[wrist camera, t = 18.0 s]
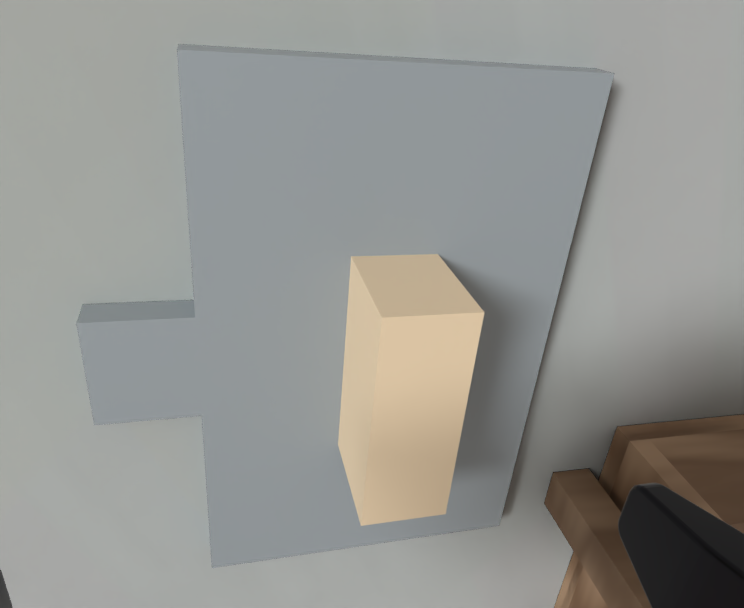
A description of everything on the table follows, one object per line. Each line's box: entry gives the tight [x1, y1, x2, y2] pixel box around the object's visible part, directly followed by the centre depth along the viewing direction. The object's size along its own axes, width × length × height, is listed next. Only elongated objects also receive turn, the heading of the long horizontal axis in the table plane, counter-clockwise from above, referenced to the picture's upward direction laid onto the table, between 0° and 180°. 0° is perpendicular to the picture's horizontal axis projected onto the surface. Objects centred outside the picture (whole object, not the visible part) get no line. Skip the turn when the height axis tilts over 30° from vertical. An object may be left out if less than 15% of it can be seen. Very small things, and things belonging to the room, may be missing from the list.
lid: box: [76, 44, 614, 568], centre depth 20 cm, size 20×16×5 cm
